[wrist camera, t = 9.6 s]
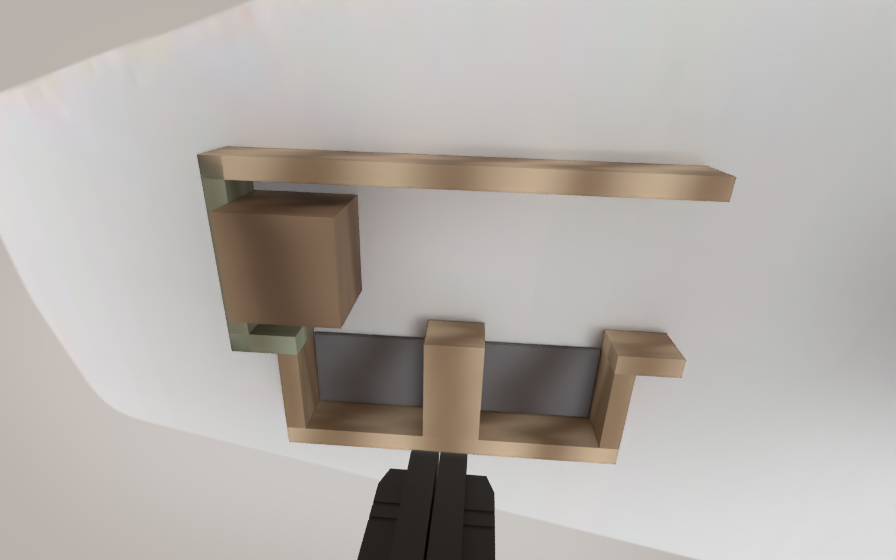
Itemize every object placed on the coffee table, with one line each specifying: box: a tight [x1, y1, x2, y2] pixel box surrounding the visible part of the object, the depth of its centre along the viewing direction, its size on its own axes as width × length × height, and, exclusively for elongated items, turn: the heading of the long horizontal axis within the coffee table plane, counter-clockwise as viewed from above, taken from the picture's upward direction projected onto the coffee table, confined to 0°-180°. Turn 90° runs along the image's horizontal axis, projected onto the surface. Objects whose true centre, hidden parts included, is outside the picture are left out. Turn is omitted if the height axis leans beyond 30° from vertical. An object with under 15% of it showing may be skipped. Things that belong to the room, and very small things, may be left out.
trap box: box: [197, 147, 736, 464], centre depth 28 cm, size 26×18×3 cm
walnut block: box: [210, 190, 362, 328], centre depth 26 cm, size 6×6×5 cm
